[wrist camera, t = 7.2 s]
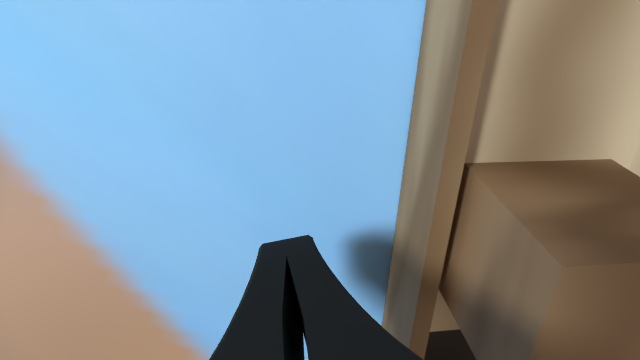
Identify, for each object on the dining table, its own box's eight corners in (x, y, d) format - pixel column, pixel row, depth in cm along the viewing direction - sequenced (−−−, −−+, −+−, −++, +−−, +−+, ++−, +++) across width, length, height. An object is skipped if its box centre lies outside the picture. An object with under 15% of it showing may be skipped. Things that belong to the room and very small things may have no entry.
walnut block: (611, 158, 13) (765, 254, 9) (565, 279, 15) (674, 398, 11) (464, 162, 13) (563, 267, 9) (438, 288, 15) (507, 418, 11)
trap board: (884, -133, 12) (1094, -155, 9) (624, 371, 22) (686, 442, 19) (449, -166, 11) (531, -206, 8) (372, 397, 20) (394, 481, 17)
